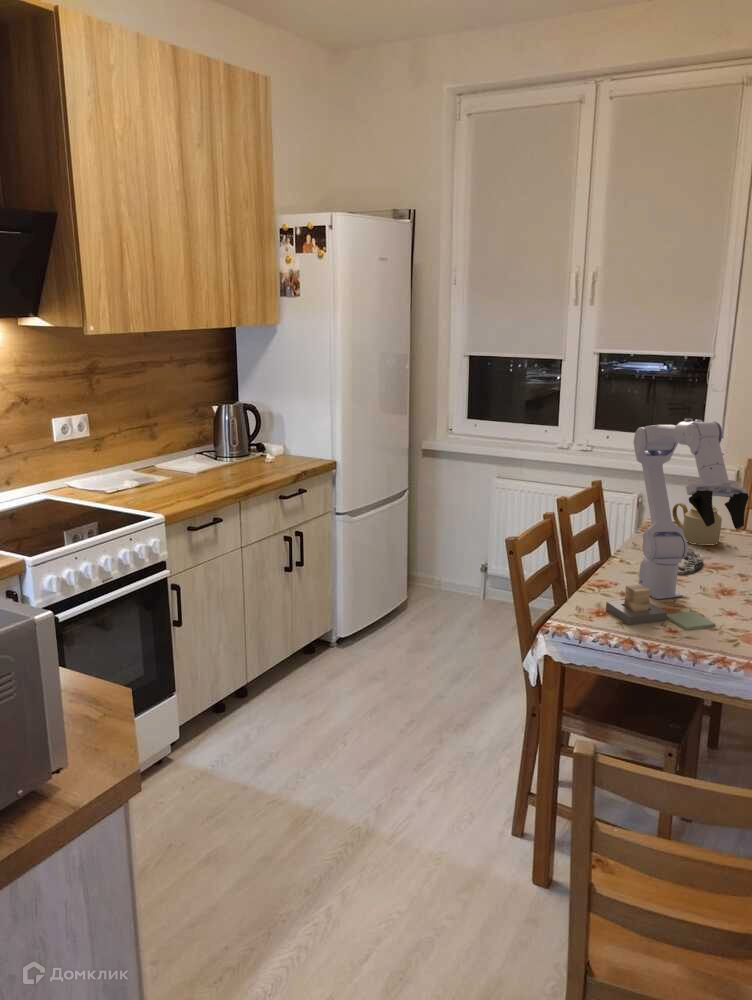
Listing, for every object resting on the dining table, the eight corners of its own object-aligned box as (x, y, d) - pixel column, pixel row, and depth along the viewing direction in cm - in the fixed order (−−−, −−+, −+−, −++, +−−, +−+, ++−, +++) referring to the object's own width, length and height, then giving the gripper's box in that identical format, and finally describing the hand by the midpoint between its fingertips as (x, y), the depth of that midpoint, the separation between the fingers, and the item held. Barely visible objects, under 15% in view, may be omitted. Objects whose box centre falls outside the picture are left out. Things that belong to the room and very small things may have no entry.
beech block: (623, 612, 189) (625, 585, 188) (637, 611, 190) (640, 584, 189) (633, 619, 186) (635, 591, 184) (647, 617, 187) (650, 589, 185)
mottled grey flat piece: (670, 542, 243) (705, 545, 239) (670, 547, 243) (705, 550, 239) (662, 570, 218) (701, 573, 214) (662, 576, 218) (700, 579, 214)
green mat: (664, 616, 187) (664, 614, 187) (692, 613, 189) (692, 611, 189) (686, 629, 179) (686, 627, 179) (715, 626, 182) (715, 623, 181)
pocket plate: (605, 609, 191) (606, 601, 191) (641, 605, 194) (641, 597, 193) (629, 624, 182) (630, 617, 181) (666, 620, 185) (666, 612, 184)
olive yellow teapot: (667, 541, 247) (672, 495, 243) (670, 532, 256) (675, 488, 253) (718, 547, 241) (724, 500, 237) (719, 538, 250) (724, 493, 247)
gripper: (695, 459, 169) (709, 516, 164) (750, 465, 173) (765, 521, 168) (675, 473, 176) (688, 528, 170) (729, 478, 180) (743, 533, 174)
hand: (725, 526), depth 170 cm, fingers open, 7 cm apart
